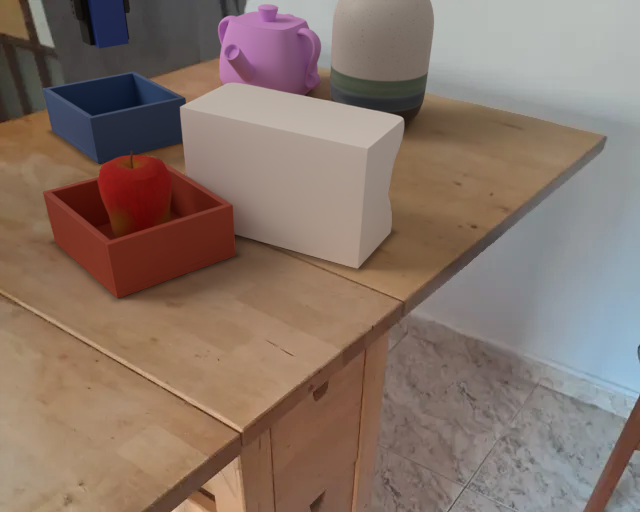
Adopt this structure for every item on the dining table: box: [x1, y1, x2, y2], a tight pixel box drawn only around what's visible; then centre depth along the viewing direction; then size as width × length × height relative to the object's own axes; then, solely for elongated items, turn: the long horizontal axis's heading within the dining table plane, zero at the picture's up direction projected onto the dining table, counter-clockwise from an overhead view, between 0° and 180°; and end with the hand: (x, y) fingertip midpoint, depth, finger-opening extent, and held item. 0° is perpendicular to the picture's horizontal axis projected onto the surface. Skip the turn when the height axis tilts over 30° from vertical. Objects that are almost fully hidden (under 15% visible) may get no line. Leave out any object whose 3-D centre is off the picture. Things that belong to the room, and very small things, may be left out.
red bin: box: [42, 162, 237, 299], centre depth 85 cm, size 17×17×7 cm
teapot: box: [217, 3, 322, 96], centre depth 130 cm, size 19×21×14 cm
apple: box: [97, 150, 172, 239], centre depth 83 cm, size 9×8×12 cm
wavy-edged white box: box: [180, 83, 405, 270], centre depth 91 cm, size 25×18×15 cm
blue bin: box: [42, 71, 187, 164], centre depth 113 cm, size 17×17×7 cm
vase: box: [329, 0, 435, 126], centre depth 117 cm, size 17×17×24 cm
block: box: [88, 0, 130, 49], centre depth 103 cm, size 5×5×7 cm
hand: (106, 40), depth 105 cm, fingers closed on block, 5 cm apart
